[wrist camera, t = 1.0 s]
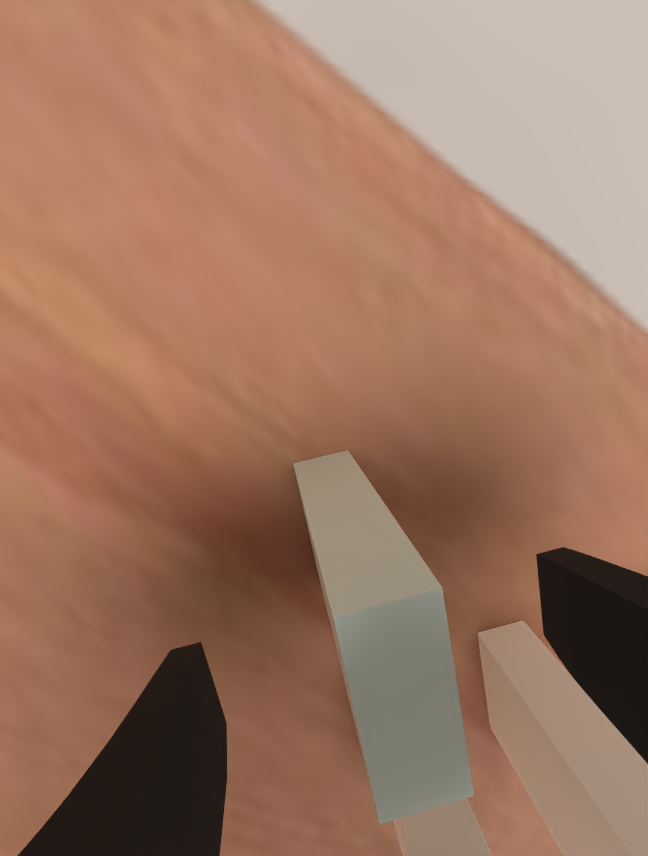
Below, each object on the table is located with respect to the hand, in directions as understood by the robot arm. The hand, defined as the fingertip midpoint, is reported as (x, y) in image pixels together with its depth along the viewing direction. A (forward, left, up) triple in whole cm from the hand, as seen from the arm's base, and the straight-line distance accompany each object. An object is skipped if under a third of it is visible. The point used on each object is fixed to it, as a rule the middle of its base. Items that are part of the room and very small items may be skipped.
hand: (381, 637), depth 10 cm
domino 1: (0, 0, -6) cm, 6 cm away
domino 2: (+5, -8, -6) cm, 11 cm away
